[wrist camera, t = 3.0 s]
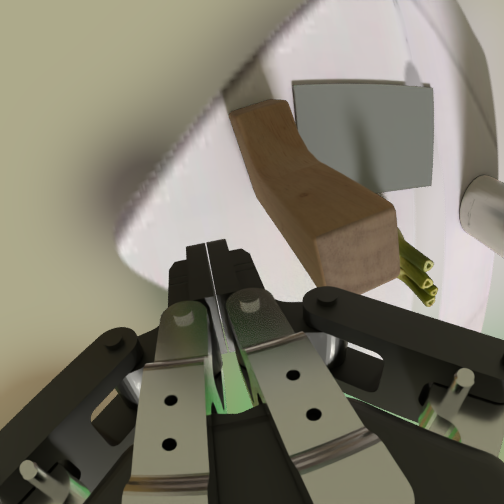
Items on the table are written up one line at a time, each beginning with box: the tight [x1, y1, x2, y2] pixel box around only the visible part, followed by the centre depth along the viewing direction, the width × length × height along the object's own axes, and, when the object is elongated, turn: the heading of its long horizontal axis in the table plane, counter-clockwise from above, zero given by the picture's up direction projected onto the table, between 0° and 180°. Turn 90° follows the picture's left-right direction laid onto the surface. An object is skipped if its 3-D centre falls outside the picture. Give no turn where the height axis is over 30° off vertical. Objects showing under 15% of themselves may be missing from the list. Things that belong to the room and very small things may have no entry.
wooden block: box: [229, 99, 400, 295], centre depth 22 cm, size 9×4×18 cm, turn 18°
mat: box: [293, 84, 434, 193], centre depth 31 cm, size 17×12×1 cm
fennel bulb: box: [397, 227, 438, 307], centre depth 31 cm, size 6×5×12 cm
